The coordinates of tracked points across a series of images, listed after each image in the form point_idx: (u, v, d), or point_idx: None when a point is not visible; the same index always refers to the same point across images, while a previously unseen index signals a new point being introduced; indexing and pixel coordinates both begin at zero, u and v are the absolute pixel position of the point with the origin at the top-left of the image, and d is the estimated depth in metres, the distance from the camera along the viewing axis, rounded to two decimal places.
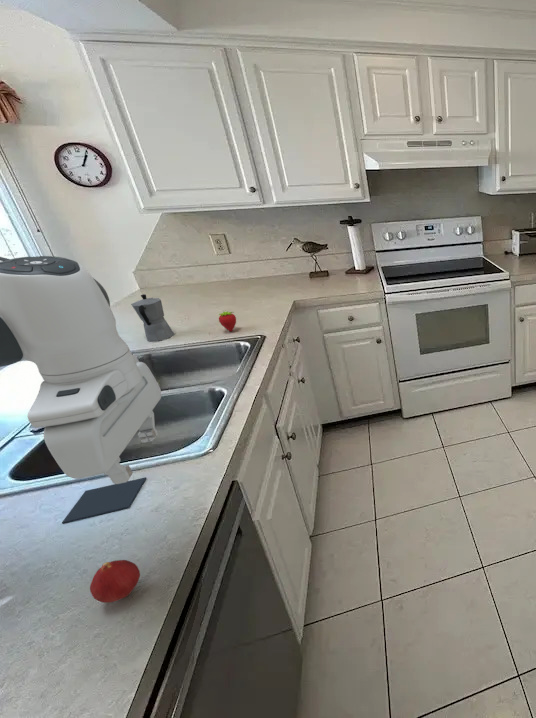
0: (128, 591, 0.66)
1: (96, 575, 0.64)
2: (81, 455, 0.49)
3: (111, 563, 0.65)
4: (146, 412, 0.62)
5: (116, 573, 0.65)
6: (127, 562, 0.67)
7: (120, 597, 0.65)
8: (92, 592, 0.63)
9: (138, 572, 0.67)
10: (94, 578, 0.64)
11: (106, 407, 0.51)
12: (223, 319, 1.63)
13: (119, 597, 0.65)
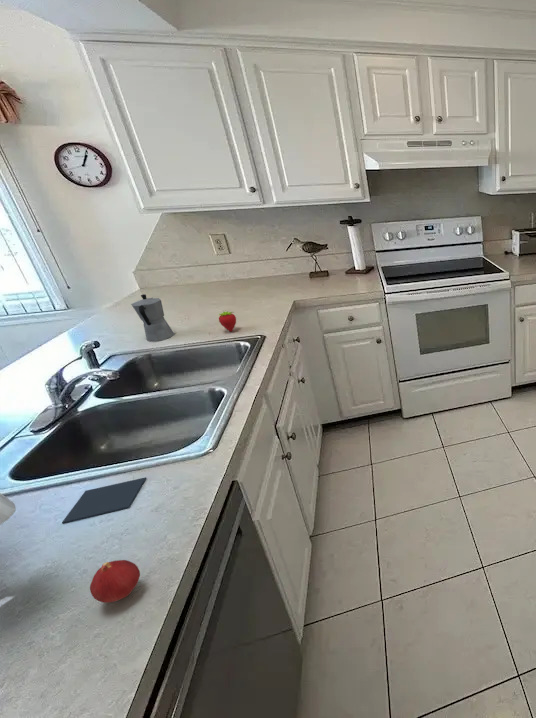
0: (128, 591, 0.66)
1: (96, 575, 0.64)
2: (6, 500, 0.62)
3: (111, 563, 0.65)
4: None
5: (116, 573, 0.65)
6: (127, 562, 0.67)
7: (120, 597, 0.65)
8: (92, 592, 0.63)
9: (138, 572, 0.67)
10: (94, 578, 0.64)
11: None
12: (223, 319, 1.63)
13: (119, 597, 0.65)
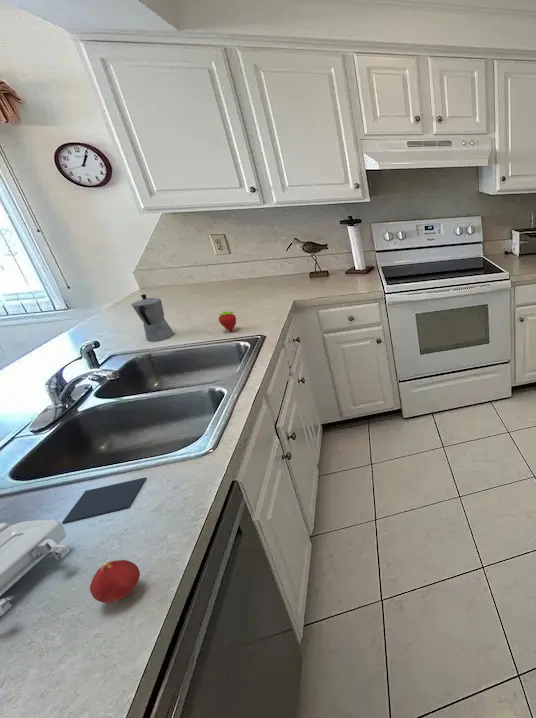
0: (128, 591, 0.66)
1: (96, 575, 0.64)
2: None
3: (111, 563, 0.65)
4: None
5: (116, 573, 0.65)
6: (127, 562, 0.67)
7: (120, 597, 0.65)
8: (92, 592, 0.63)
9: (138, 572, 0.67)
10: (94, 578, 0.64)
11: None
12: (223, 319, 1.63)
13: (119, 597, 0.65)
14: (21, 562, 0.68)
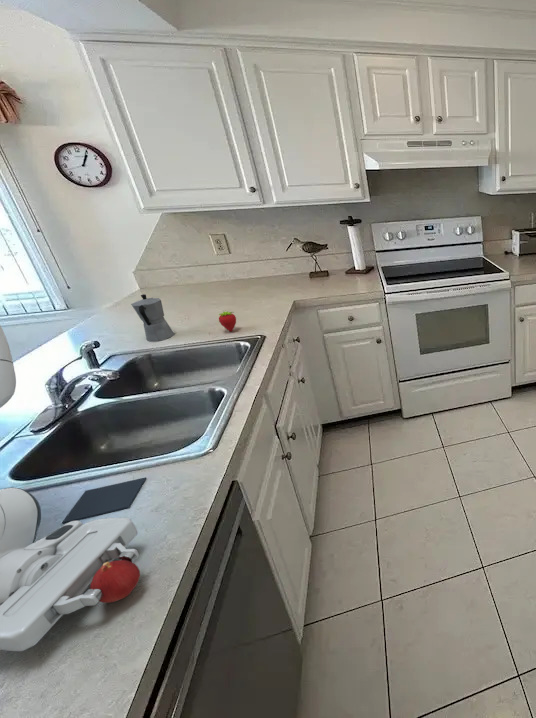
0: (128, 591, 0.66)
1: (96, 575, 0.64)
2: None
3: (111, 563, 0.65)
4: None
5: (117, 573, 0.65)
6: (127, 562, 0.67)
7: (120, 597, 0.65)
8: None
9: (138, 572, 0.67)
10: (94, 578, 0.64)
11: None
12: (223, 319, 1.63)
13: (119, 597, 0.65)
14: (99, 560, 0.68)
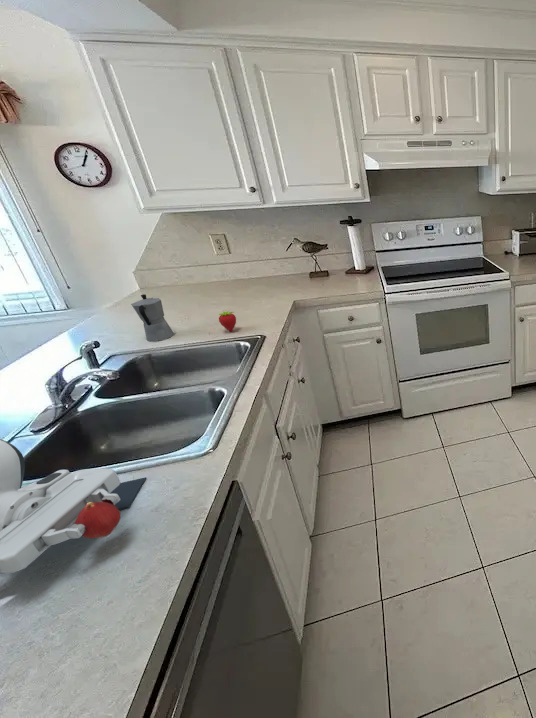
0: (109, 529, 0.73)
1: (81, 513, 0.72)
2: None
3: (94, 503, 0.73)
4: None
5: (99, 512, 0.72)
6: (109, 504, 0.75)
7: (102, 534, 0.73)
8: None
9: (119, 513, 0.75)
10: (79, 515, 0.72)
11: None
12: (223, 319, 1.63)
13: (101, 533, 0.73)
14: (84, 503, 0.76)
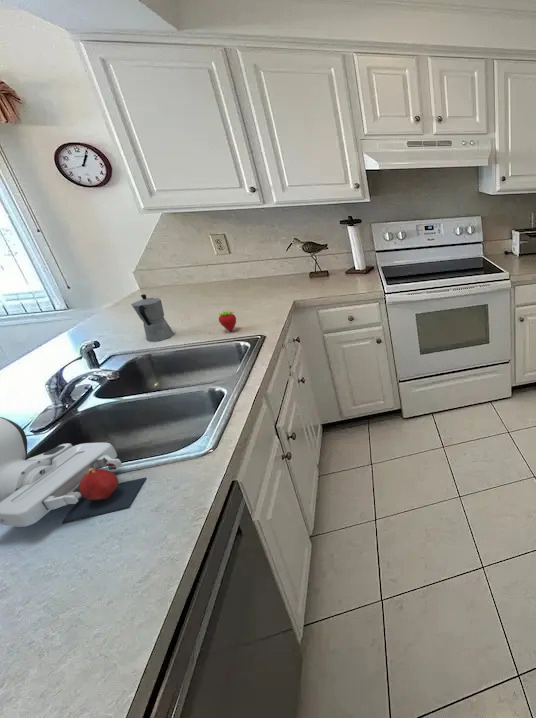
0: (108, 492, 0.85)
1: (83, 477, 0.83)
2: None
3: (95, 470, 0.84)
4: None
5: (99, 477, 0.84)
6: (108, 471, 0.86)
7: (102, 496, 0.84)
8: (80, 490, 0.83)
9: (116, 479, 0.87)
10: (82, 480, 0.83)
11: None
12: (223, 319, 1.63)
13: (101, 495, 0.84)
14: (85, 471, 0.87)
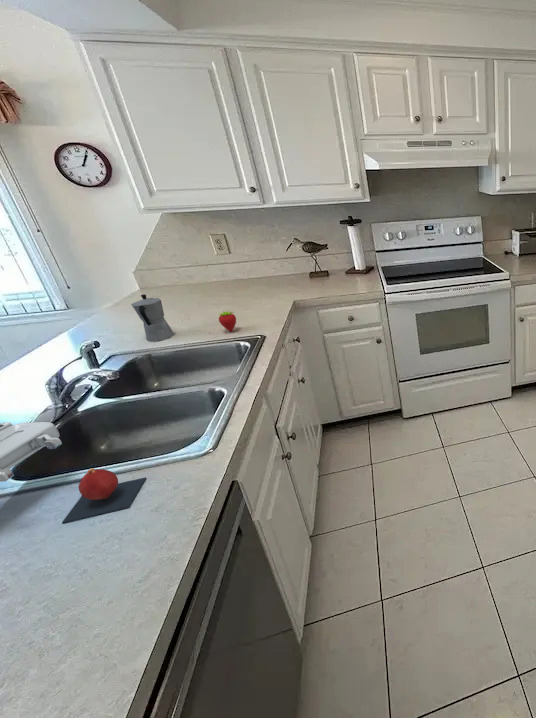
0: (108, 492, 0.85)
1: (83, 477, 0.83)
2: None
3: (95, 470, 0.84)
4: None
5: (99, 477, 0.84)
6: (108, 471, 0.86)
7: (102, 496, 0.84)
8: (80, 490, 0.83)
9: (116, 479, 0.87)
10: (82, 480, 0.83)
11: None
12: (223, 319, 1.63)
13: (101, 495, 0.84)
14: (22, 449, 0.84)
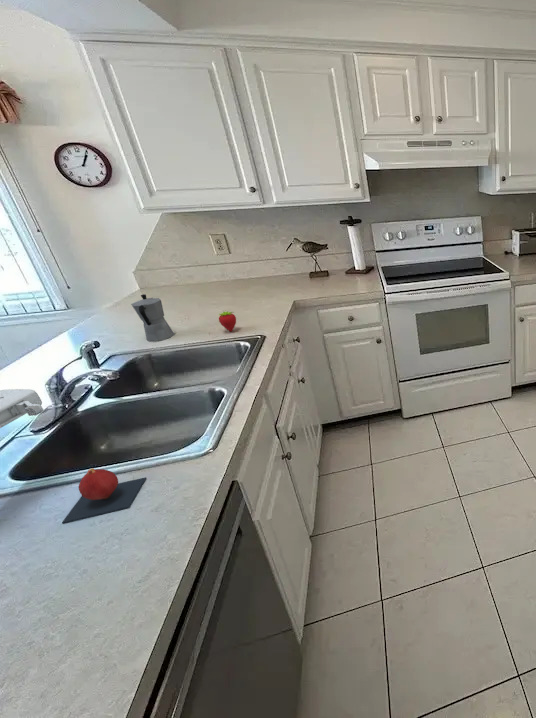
0: (108, 492, 0.85)
1: (83, 477, 0.83)
2: None
3: (95, 470, 0.84)
4: None
5: (99, 477, 0.84)
6: (108, 471, 0.86)
7: (102, 496, 0.84)
8: (80, 490, 0.83)
9: (116, 479, 0.87)
10: (82, 480, 0.83)
11: None
12: (223, 319, 1.63)
13: (101, 495, 0.84)
14: (2, 416, 0.81)
